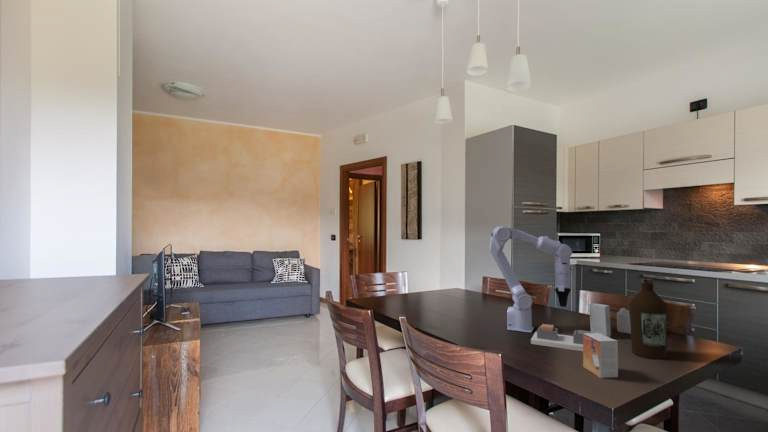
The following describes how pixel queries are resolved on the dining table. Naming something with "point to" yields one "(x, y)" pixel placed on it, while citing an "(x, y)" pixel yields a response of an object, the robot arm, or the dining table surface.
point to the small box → (600, 355)
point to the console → (558, 339)
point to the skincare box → (600, 319)
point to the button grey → (580, 332)
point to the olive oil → (648, 322)
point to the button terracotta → (547, 327)
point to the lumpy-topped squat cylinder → (623, 321)
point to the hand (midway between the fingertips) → (563, 306)
